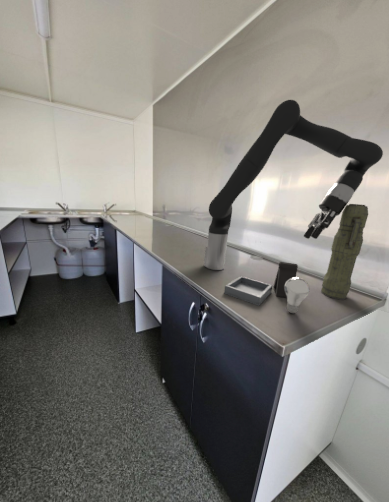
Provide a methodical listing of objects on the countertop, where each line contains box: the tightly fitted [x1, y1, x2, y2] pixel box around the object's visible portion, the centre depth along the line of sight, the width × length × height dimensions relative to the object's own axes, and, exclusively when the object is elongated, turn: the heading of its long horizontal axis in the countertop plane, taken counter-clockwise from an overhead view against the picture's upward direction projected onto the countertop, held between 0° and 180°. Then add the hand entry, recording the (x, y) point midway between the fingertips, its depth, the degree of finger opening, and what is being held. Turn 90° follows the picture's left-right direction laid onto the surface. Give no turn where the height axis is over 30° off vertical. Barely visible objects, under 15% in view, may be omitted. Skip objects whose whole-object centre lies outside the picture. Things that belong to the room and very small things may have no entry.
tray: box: [223, 275, 274, 306], centre depth 80 cm, size 13×14×3 cm
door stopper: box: [272, 261, 299, 299], centre depth 81 cm, size 9×6×12 cm, turn 167°
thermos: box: [320, 203, 369, 301], centre depth 80 cm, size 9×12×35 cm
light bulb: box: [284, 276, 310, 315], centre depth 66 cm, size 7×7×12 cm
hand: (309, 237), depth 80 cm, fingers open, 8 cm apart
